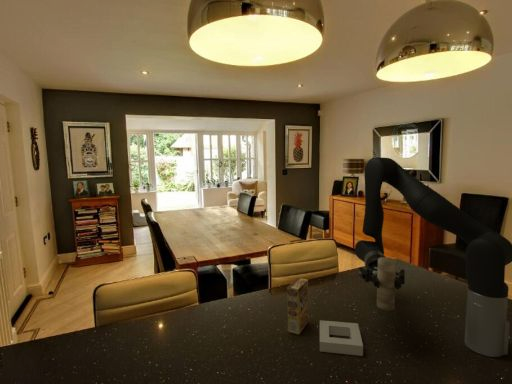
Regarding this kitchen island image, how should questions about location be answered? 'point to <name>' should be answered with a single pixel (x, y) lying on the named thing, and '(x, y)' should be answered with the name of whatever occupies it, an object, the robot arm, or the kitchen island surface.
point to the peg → (386, 283)
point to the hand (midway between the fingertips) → (388, 285)
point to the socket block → (340, 344)
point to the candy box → (297, 305)
